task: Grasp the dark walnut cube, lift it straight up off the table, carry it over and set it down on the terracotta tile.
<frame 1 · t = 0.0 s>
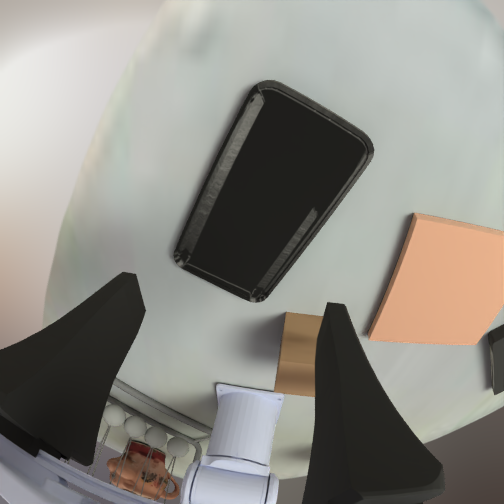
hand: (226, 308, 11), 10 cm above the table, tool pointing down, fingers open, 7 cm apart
terracotta tile: (453, 289, 21), on the table
walnut cube: (311, 333, 27), on the table
newton's cradle: (143, 404, 45), on the table
decorative planter: (154, 449, 64), on the table
phone: (263, 202, 21), on the table
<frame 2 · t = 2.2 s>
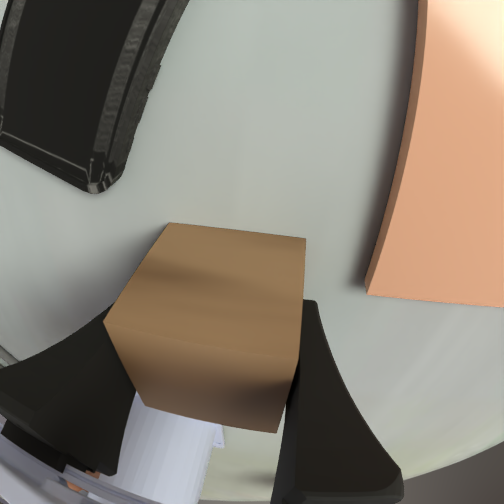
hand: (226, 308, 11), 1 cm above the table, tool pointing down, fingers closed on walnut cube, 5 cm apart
walnut cube: (234, 282, 13), on the table, touching gripper
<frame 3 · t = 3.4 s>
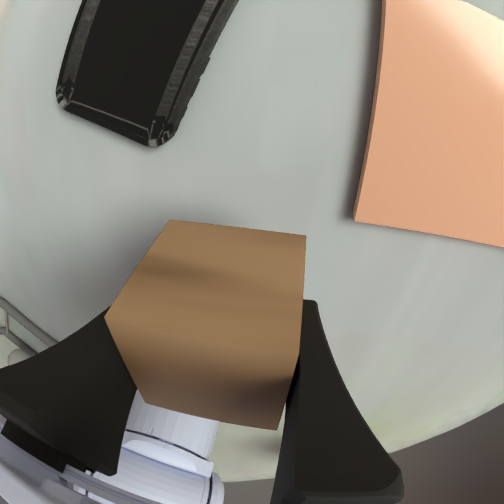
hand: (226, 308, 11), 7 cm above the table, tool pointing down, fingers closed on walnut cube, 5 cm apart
terracotta tile: (481, 129, 11), on the table
walnut cube: (235, 280, 13), point 5 cm above the table, touching gripper
newton's cradle: (81, 371, 35), on the table
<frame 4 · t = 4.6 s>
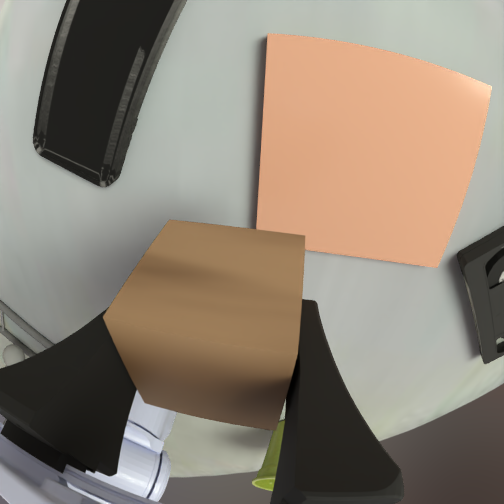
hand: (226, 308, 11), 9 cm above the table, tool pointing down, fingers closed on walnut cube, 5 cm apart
plant pot: (298, 425, 36), on the table
terracotta tile: (372, 158, 15), on the table
walnut cube: (234, 280, 13), point 7 cm above the table, touching gripper
newton's cradle: (67, 365, 38), on the table
phone: (104, 63, 15), on the table
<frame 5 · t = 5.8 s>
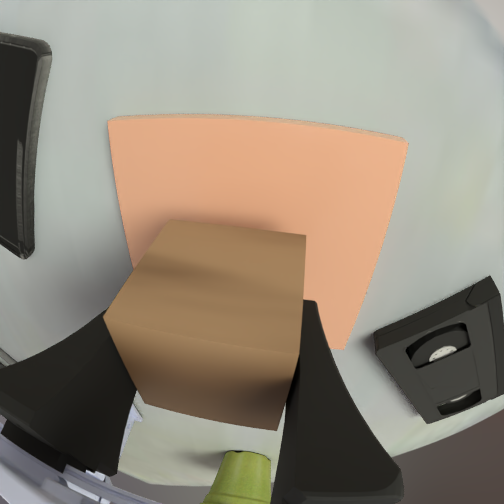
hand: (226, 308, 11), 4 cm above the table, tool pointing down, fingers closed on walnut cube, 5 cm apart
plant pot: (248, 455, 35), on the table
terracotta tile: (246, 243, 15), on the table
walnut cube: (235, 279, 13), point 3 cm above the table, touching gripper
vhs tape: (451, 354, 18), on the table
phone: (4, 146, 14), on the table
when the fingers open (4 cm above the table, at t = 6.8 s): walnut cube drops 1 cm, resting on terracotta tile.
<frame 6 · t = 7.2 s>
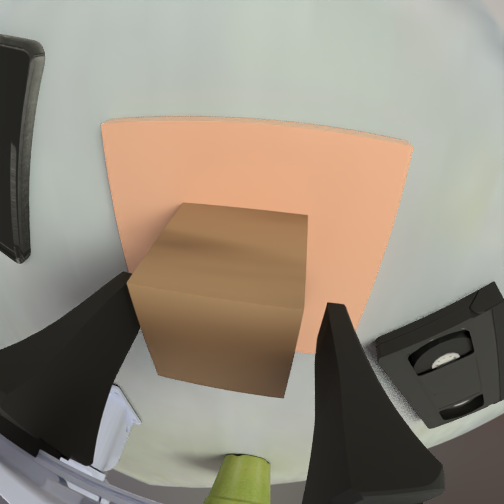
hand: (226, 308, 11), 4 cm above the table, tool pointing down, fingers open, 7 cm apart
plant pot: (248, 458, 35), on the table
terracotta tile: (245, 250, 14), on the table
walnut cube: (243, 258, 14), point 1 cm above the table, touching terracotta tile
vhs tape: (454, 360, 18), on the table
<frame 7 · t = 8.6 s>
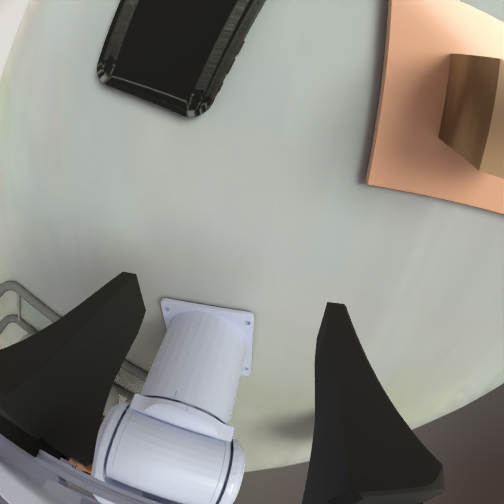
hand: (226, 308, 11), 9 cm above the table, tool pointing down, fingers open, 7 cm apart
terracotta tile: (474, 106, 13), on the table
walnut cube: (481, 108, 12), point 1 cm above the table, touching terracotta tile
newton's cradle: (93, 355, 36), on the table
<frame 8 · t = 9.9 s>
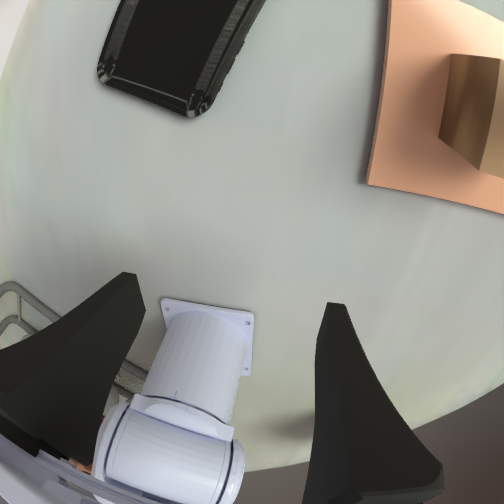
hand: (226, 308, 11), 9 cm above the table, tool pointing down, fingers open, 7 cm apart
terracotta tile: (474, 106, 13), on the table
walnut cube: (481, 108, 12), point 1 cm above the table, touching terracotta tile
newton's cradle: (93, 355, 36), on the table
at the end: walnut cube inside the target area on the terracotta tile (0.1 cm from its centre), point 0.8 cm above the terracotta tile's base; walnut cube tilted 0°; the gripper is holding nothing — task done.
